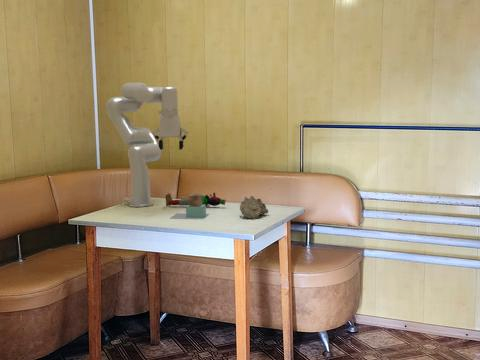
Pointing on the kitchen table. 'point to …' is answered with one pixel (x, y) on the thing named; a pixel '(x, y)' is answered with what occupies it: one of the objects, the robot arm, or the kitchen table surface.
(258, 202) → the seashell
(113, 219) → the kitchen table surface
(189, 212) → the teal brick
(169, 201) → the toy
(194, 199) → the walnut block
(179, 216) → the build board
